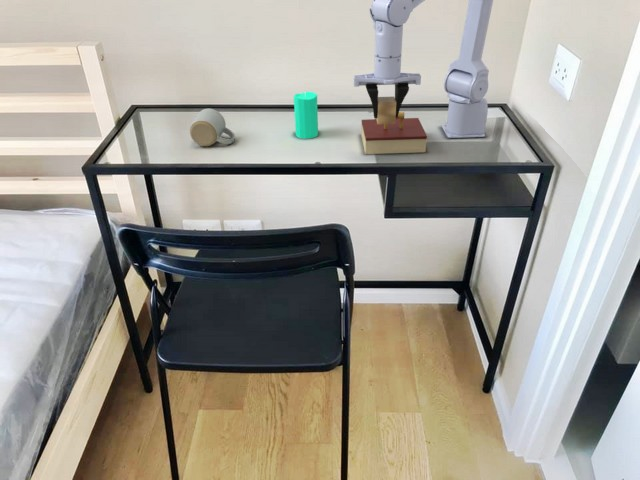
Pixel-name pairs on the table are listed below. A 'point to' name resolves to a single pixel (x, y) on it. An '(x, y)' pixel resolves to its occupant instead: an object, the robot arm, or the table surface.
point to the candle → (306, 115)
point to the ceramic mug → (210, 128)
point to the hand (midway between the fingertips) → (385, 116)
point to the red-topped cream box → (393, 145)
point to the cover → (394, 129)
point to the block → (386, 110)
